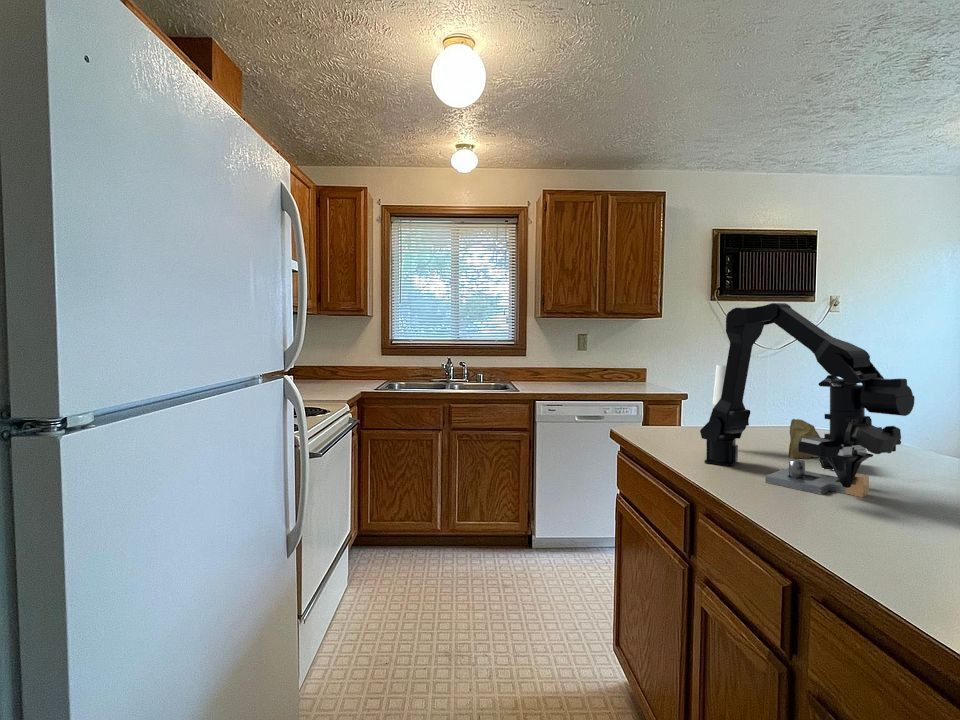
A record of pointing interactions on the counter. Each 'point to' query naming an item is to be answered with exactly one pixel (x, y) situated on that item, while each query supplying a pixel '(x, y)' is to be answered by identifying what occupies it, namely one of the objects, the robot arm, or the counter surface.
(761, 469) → the counter surface
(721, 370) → the champagne flute
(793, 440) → the rock
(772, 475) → the flange plate
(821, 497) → the counter surface
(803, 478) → the post
